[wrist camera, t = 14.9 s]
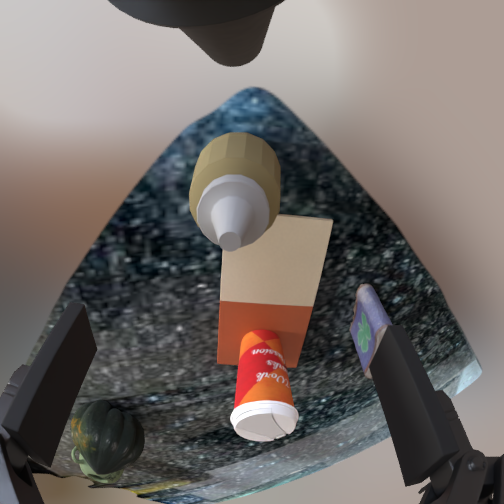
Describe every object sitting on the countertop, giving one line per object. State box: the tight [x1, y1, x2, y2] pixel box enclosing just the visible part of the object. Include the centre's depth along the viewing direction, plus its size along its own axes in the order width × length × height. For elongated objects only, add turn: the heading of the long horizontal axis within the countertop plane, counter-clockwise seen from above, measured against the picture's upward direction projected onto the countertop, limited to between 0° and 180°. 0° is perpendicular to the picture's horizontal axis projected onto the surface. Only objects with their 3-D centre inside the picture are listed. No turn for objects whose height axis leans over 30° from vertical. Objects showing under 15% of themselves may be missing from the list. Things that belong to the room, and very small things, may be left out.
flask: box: [350, 283, 392, 379], centre depth 37 cm, size 9×3×11 cm, turn 2°
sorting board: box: [217, 214, 333, 367], centre depth 41 cm, size 24×12×1 cm, turn 174°
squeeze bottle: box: [189, 133, 280, 252], centre depth 25 cm, size 8×8×18 cm
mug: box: [72, 447, 124, 483], centre depth 61 cm, size 16×13×9 cm
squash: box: [71, 400, 145, 475], centre depth 49 cm, size 14×15×15 cm
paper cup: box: [231, 329, 299, 441], centre depth 37 cm, size 8×8×14 cm
